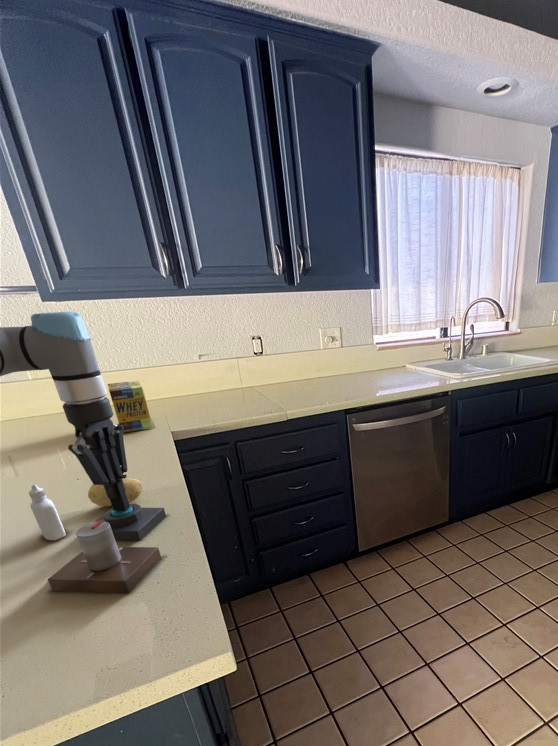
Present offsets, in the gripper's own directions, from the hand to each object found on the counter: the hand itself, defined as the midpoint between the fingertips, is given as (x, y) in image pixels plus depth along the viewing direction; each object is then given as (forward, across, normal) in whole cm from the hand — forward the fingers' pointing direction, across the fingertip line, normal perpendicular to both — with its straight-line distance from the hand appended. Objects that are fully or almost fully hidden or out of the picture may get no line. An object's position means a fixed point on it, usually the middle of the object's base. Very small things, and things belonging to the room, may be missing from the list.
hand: (122, 508), depth 90 cm
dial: (+2, +16, +7) cm, 18 cm away
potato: (+5, -11, -9) cm, 15 cm away
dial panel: (+5, +16, +7) cm, 18 cm away
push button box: (+5, 0, 0) cm, 5 cm away
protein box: (+5, -73, -44) cm, 85 cm away
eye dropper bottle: (+5, +4, -14) cm, 15 cm away
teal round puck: (+2, 0, 0) cm, 2 cm away
